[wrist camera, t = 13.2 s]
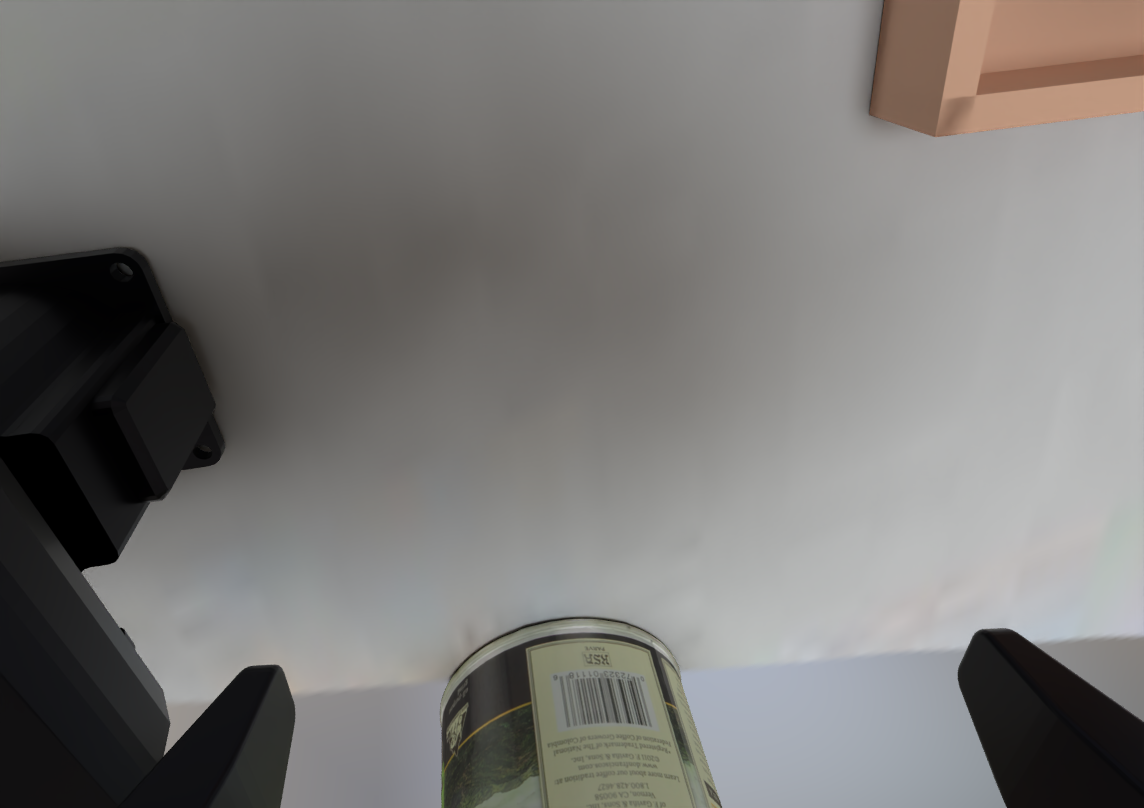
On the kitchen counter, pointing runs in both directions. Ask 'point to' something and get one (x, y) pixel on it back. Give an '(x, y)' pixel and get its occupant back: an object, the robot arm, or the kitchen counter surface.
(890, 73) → the terracotta bin
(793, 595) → the kitchen counter surface
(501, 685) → the coffee can
